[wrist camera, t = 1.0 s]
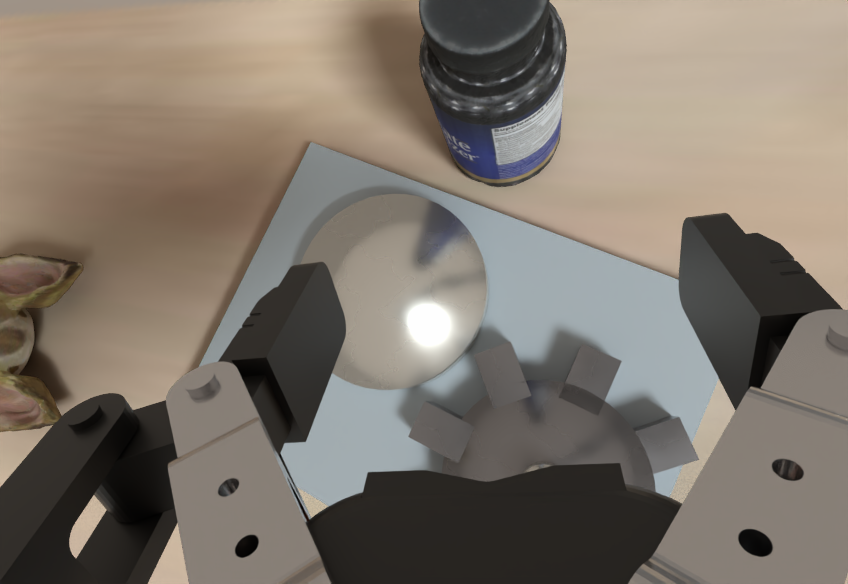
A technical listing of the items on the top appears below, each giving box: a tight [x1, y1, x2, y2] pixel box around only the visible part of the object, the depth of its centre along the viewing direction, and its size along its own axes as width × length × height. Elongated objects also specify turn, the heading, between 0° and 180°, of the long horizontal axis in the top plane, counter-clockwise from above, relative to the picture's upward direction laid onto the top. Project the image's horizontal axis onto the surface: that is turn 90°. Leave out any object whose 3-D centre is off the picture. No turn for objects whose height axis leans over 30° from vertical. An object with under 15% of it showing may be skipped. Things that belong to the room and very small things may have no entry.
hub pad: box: [301, 194, 489, 390], centre depth 27 cm, size 10×10×1 cm
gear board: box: [199, 142, 719, 506], centre depth 27 cm, size 24×17×2 cm
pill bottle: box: [419, 0, 567, 187], centre depth 24 cm, size 6×6×11 cm
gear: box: [408, 341, 699, 492], centre depth 23 cm, size 13×13×3 cm
